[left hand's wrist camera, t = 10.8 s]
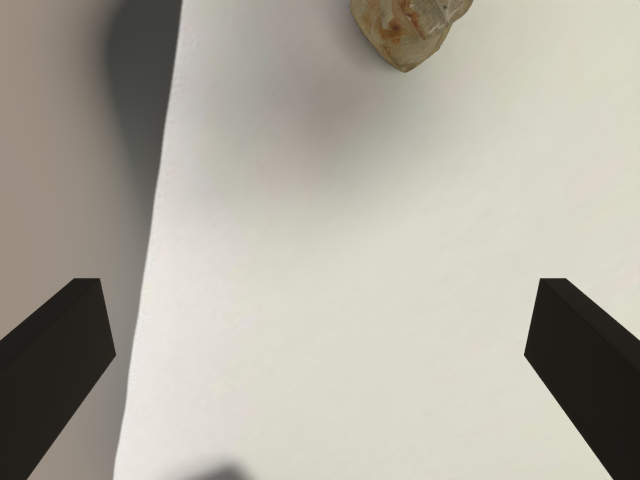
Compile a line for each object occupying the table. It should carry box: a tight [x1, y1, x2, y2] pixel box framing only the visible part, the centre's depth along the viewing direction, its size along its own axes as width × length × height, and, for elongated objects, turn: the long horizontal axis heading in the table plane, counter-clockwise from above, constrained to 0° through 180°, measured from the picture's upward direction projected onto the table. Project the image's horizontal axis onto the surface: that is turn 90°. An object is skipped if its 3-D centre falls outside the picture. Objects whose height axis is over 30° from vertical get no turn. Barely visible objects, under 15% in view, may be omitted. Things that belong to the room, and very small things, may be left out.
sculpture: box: [350, 0, 473, 73], centre depth 28 cm, size 6×7×15 cm
